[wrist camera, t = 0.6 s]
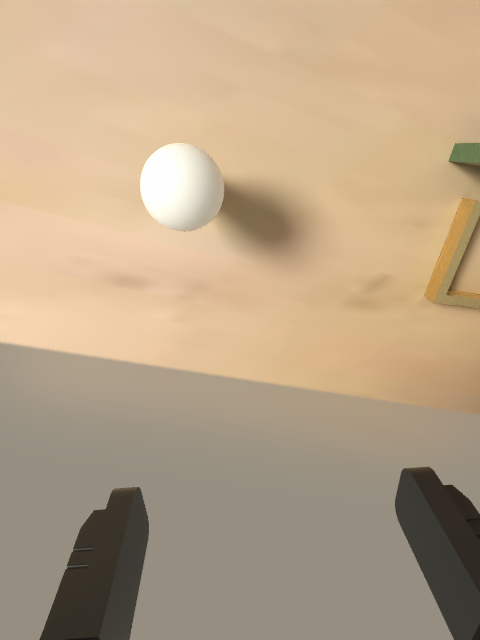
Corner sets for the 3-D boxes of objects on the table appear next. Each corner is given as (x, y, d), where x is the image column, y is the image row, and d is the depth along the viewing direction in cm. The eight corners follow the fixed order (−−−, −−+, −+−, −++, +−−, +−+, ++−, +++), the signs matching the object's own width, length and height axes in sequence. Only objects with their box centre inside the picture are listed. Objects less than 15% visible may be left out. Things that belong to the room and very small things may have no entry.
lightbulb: (236, 190, 34) (242, 206, 24) (184, 226, 35) (170, 256, 25) (198, 130, 32) (187, 120, 22) (144, 171, 33) (111, 179, 23)
